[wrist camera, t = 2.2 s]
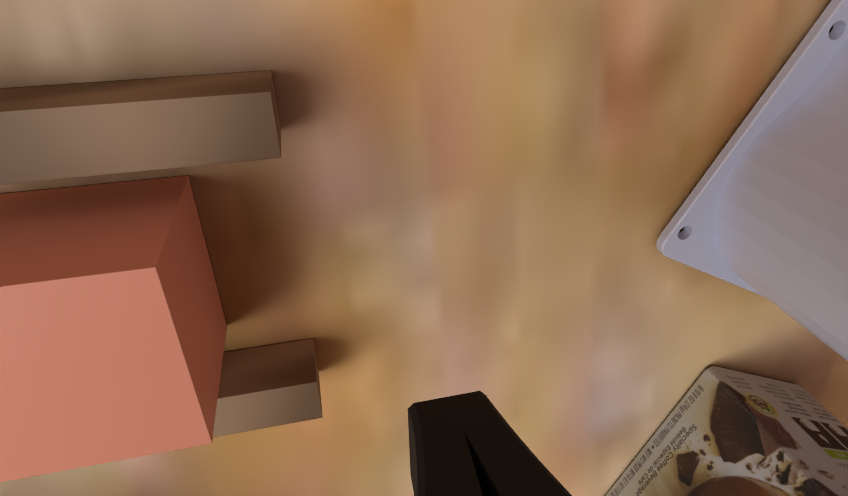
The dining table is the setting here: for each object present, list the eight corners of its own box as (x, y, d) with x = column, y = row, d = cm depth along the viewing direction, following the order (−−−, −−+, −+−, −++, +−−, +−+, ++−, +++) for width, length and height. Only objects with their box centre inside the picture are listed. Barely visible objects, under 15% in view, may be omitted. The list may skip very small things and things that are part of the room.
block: (188, 175, 14) (155, 267, 11) (227, 325, 17) (211, 443, 13) (-29, 197, 13) (-149, 305, 10) (47, 352, 16) (-24, 486, 12)
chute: (271, 70, 13) (270, 91, 12) (318, 372, 19) (322, 417, 17) (-330, 110, 11) (-436, 144, 10) (-87, 440, 16) (-129, 499, 15)
